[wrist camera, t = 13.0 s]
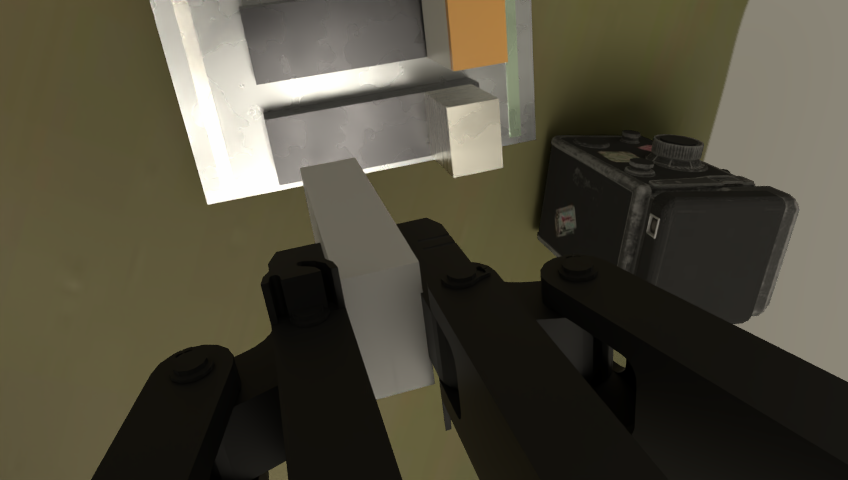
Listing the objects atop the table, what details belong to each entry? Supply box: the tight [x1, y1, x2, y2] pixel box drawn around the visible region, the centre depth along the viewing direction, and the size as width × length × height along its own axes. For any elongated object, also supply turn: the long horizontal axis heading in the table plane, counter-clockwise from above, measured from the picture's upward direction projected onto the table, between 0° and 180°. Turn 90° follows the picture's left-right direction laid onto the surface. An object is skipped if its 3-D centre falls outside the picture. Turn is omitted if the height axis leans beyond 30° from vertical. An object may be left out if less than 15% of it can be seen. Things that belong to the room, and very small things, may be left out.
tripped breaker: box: [421, 0, 508, 71], centre depth 34 cm, size 3×4×5 cm
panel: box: [150, 0, 536, 204], centre depth 35 cm, size 22×18×8 cm
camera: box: [537, 130, 799, 324], centre depth 41 cm, size 10×11×15 cm
